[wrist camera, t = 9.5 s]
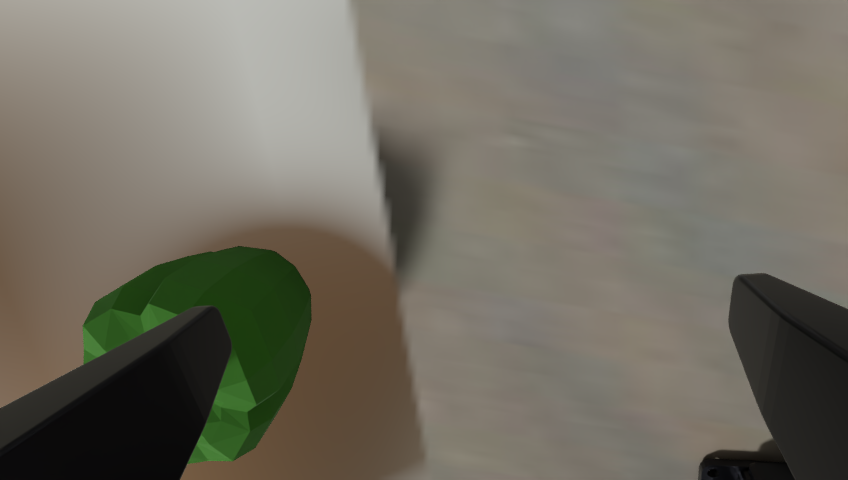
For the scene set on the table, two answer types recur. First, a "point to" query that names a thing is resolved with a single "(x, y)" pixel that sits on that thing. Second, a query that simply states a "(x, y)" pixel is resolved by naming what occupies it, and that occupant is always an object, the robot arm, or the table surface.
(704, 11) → the table surface
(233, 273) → the bell pepper
